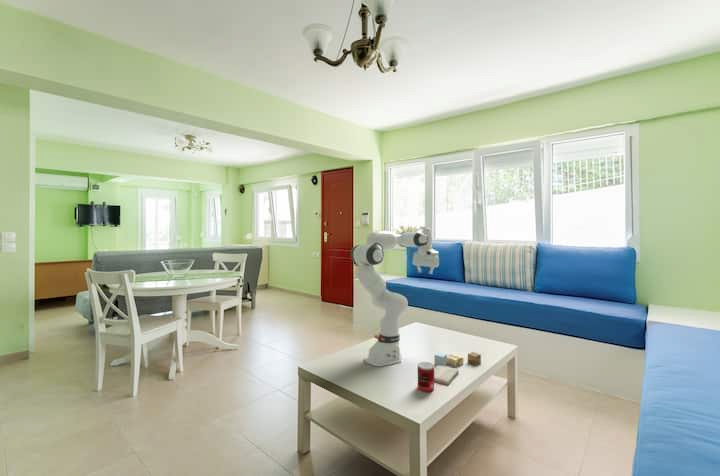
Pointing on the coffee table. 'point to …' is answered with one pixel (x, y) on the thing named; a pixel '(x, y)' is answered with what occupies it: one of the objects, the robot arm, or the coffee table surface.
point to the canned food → (426, 377)
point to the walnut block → (474, 358)
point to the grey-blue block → (440, 359)
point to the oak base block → (454, 360)
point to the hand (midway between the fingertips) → (425, 273)
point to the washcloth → (444, 374)
